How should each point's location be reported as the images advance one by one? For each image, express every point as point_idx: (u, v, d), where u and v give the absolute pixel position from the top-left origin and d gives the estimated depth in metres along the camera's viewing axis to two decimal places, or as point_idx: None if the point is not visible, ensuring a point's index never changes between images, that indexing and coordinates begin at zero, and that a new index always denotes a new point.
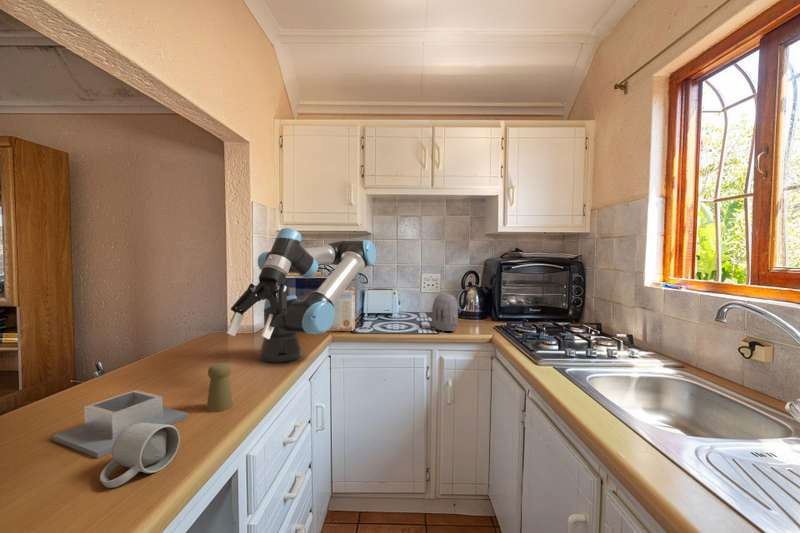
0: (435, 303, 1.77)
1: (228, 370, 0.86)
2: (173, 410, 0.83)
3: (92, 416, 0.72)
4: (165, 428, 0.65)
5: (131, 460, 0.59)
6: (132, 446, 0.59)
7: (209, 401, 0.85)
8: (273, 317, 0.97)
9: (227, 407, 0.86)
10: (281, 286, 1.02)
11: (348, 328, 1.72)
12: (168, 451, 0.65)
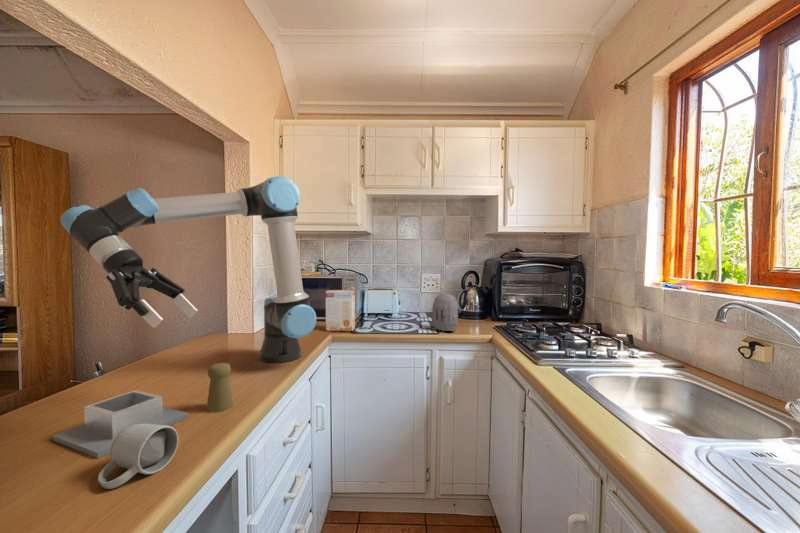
0: (435, 303, 1.77)
1: (228, 370, 0.86)
2: (173, 410, 0.83)
3: (92, 416, 0.72)
4: (163, 428, 0.65)
5: (129, 461, 0.58)
6: (130, 447, 0.59)
7: (209, 401, 0.85)
8: None
9: (227, 407, 0.86)
10: None
11: (348, 328, 1.72)
12: (167, 452, 0.64)
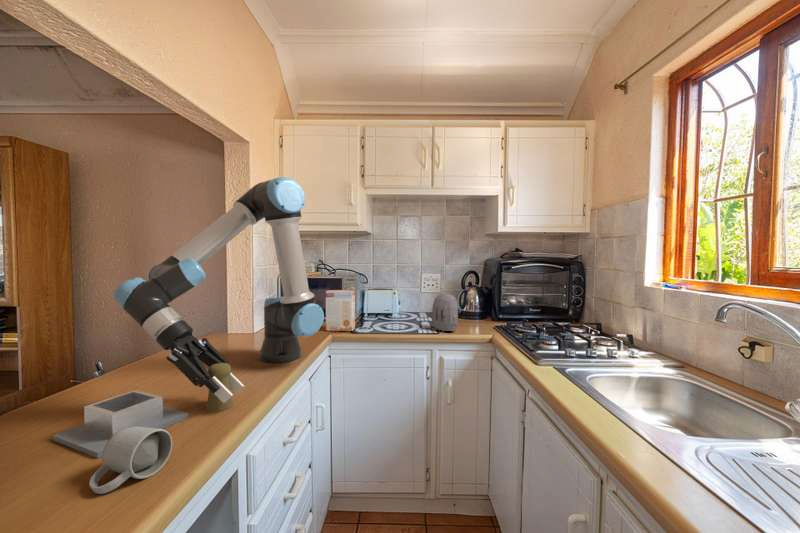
0: (435, 303, 1.77)
1: (228, 370, 0.86)
2: (173, 410, 0.83)
3: (92, 416, 0.72)
4: (157, 432, 0.63)
5: (121, 465, 0.57)
6: (122, 451, 0.58)
7: (209, 401, 0.85)
8: None
9: (227, 407, 0.86)
10: None
11: (348, 328, 1.72)
12: (160, 456, 0.63)
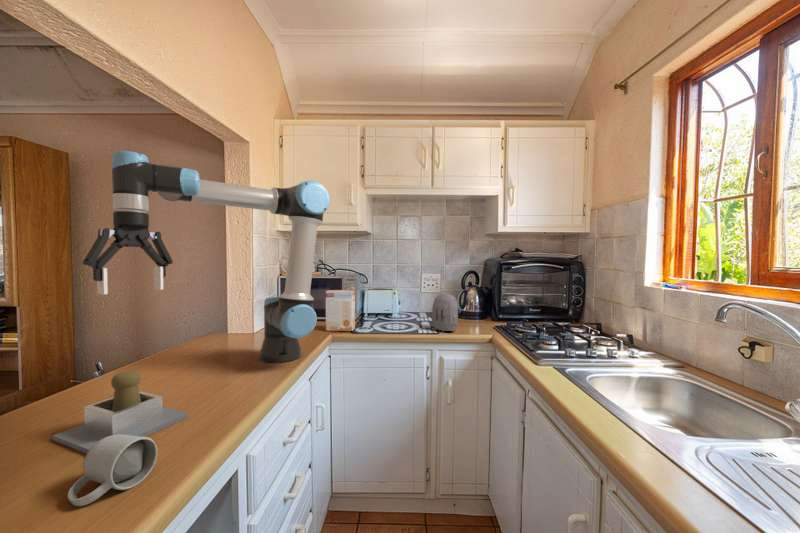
0: (435, 303, 1.77)
1: (136, 379, 0.77)
2: (173, 410, 0.83)
3: (92, 416, 0.72)
4: (141, 440, 0.61)
5: (102, 476, 0.54)
6: (103, 461, 0.55)
7: None
8: None
9: None
10: None
11: (348, 328, 1.72)
12: (145, 465, 0.60)
